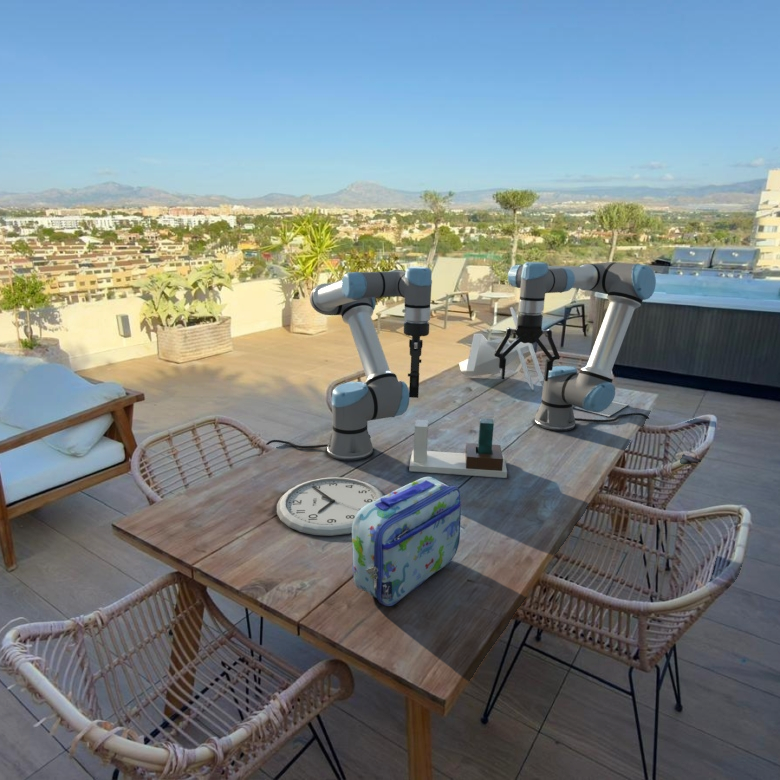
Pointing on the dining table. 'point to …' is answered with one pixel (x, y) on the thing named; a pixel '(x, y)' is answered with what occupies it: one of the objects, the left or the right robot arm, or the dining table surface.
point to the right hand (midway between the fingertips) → (524, 379)
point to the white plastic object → (487, 363)
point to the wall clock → (325, 505)
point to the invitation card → (609, 409)
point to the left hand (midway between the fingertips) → (414, 390)
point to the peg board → (454, 458)
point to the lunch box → (405, 538)
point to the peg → (485, 436)
